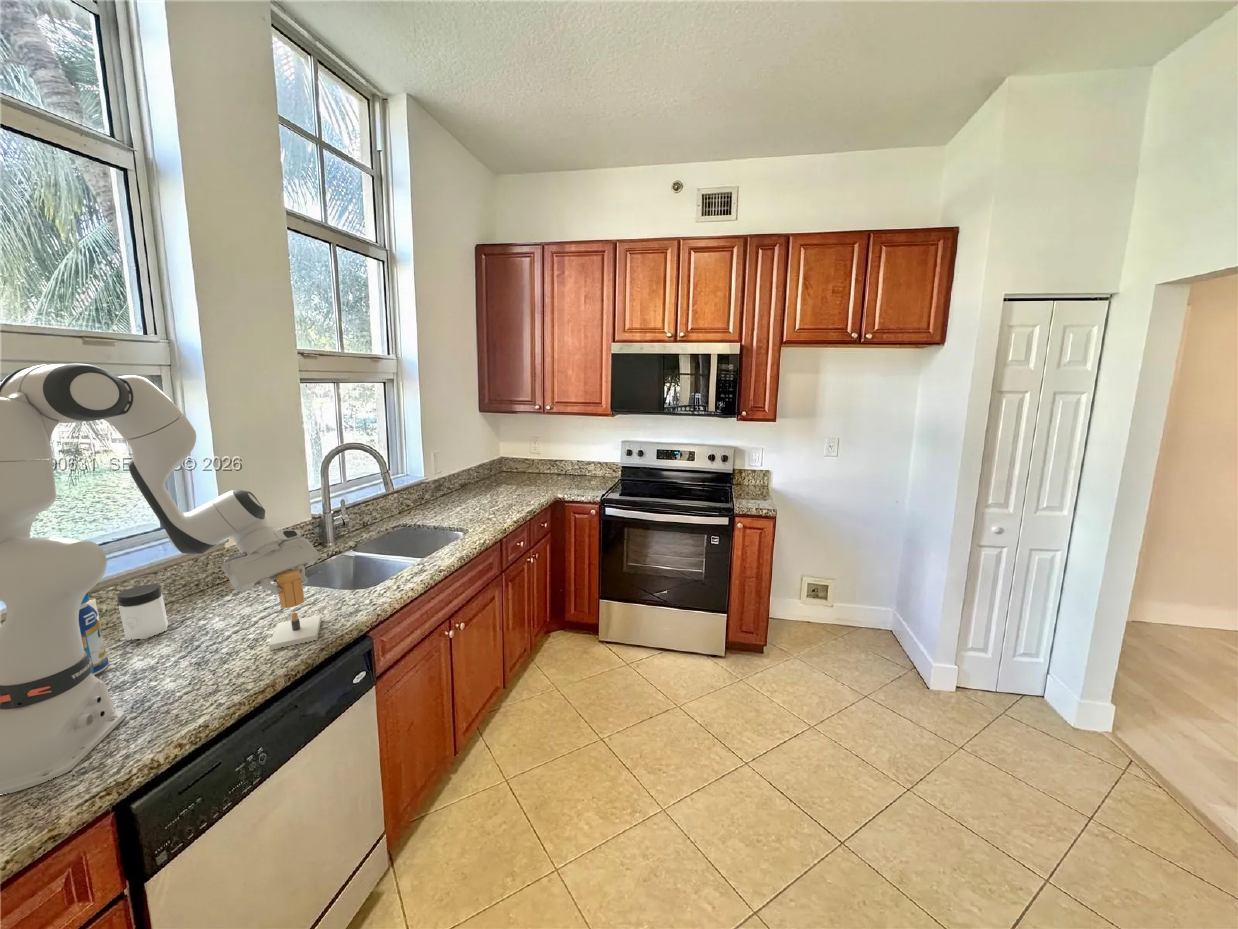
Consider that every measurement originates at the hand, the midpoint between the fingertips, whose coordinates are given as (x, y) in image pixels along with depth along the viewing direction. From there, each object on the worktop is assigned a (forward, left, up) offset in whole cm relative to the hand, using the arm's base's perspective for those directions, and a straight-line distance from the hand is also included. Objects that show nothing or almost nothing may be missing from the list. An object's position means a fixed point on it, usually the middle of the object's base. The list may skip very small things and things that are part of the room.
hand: (292, 587), depth 126 cm
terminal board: (0, 0, -13) cm, 13 cm away
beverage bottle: (+3, +42, -13) cm, 45 cm away
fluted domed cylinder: (0, 0, -4) cm, 4 cm away
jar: (+20, +36, -13) cm, 44 cm away
